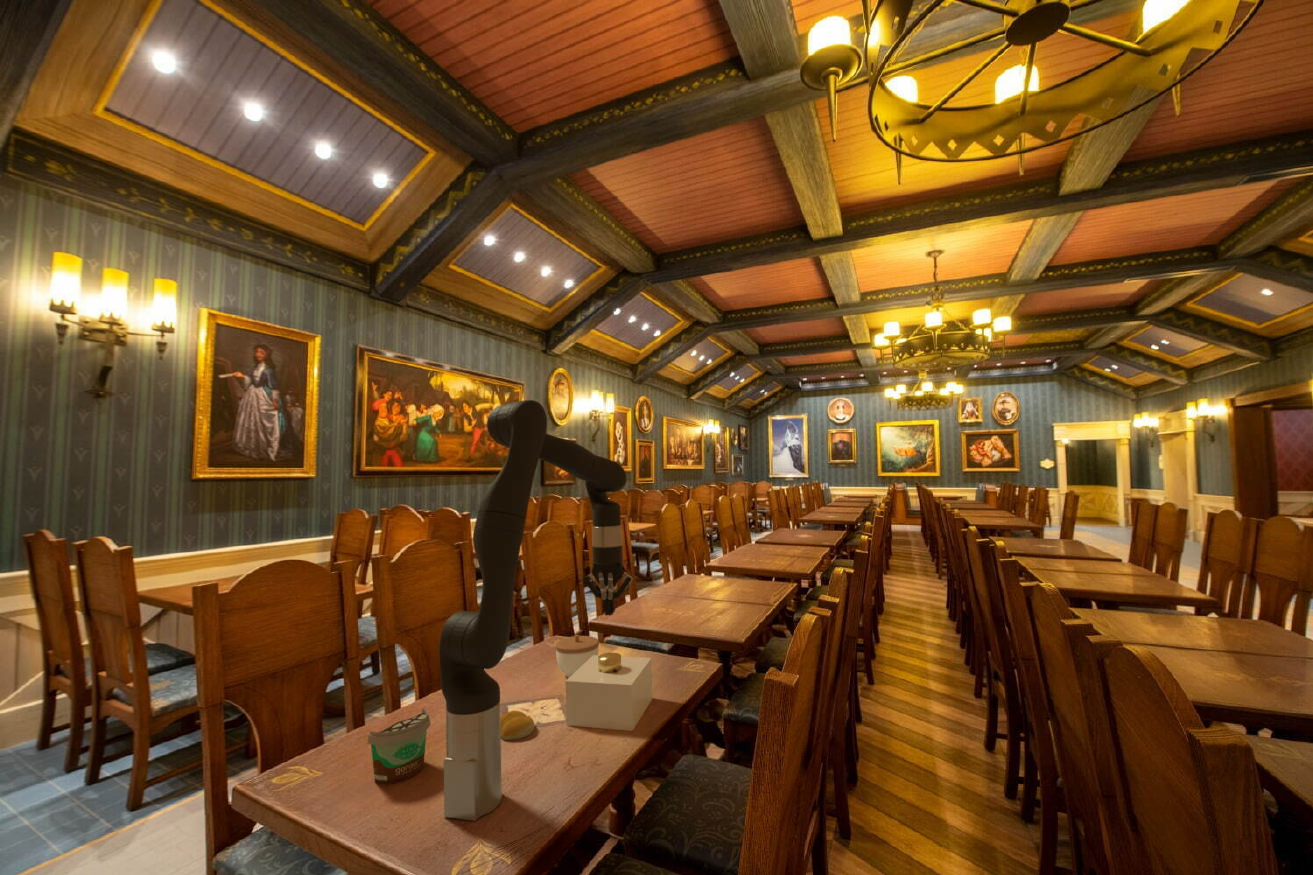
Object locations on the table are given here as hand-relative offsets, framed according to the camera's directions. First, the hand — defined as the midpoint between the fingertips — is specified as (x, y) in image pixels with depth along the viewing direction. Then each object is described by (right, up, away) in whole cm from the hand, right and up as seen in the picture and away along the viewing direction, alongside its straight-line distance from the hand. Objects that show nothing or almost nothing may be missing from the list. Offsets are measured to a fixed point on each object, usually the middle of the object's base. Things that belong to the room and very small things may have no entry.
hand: (609, 614), depth 133 cm
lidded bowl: (-11, -25, +24) cm, 37 cm away
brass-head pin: (+1, -22, -1) cm, 22 cm away
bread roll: (-21, -24, -10) cm, 33 cm away
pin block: (+1, -23, -2) cm, 23 cm away
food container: (-38, -23, -27) cm, 52 cm away
